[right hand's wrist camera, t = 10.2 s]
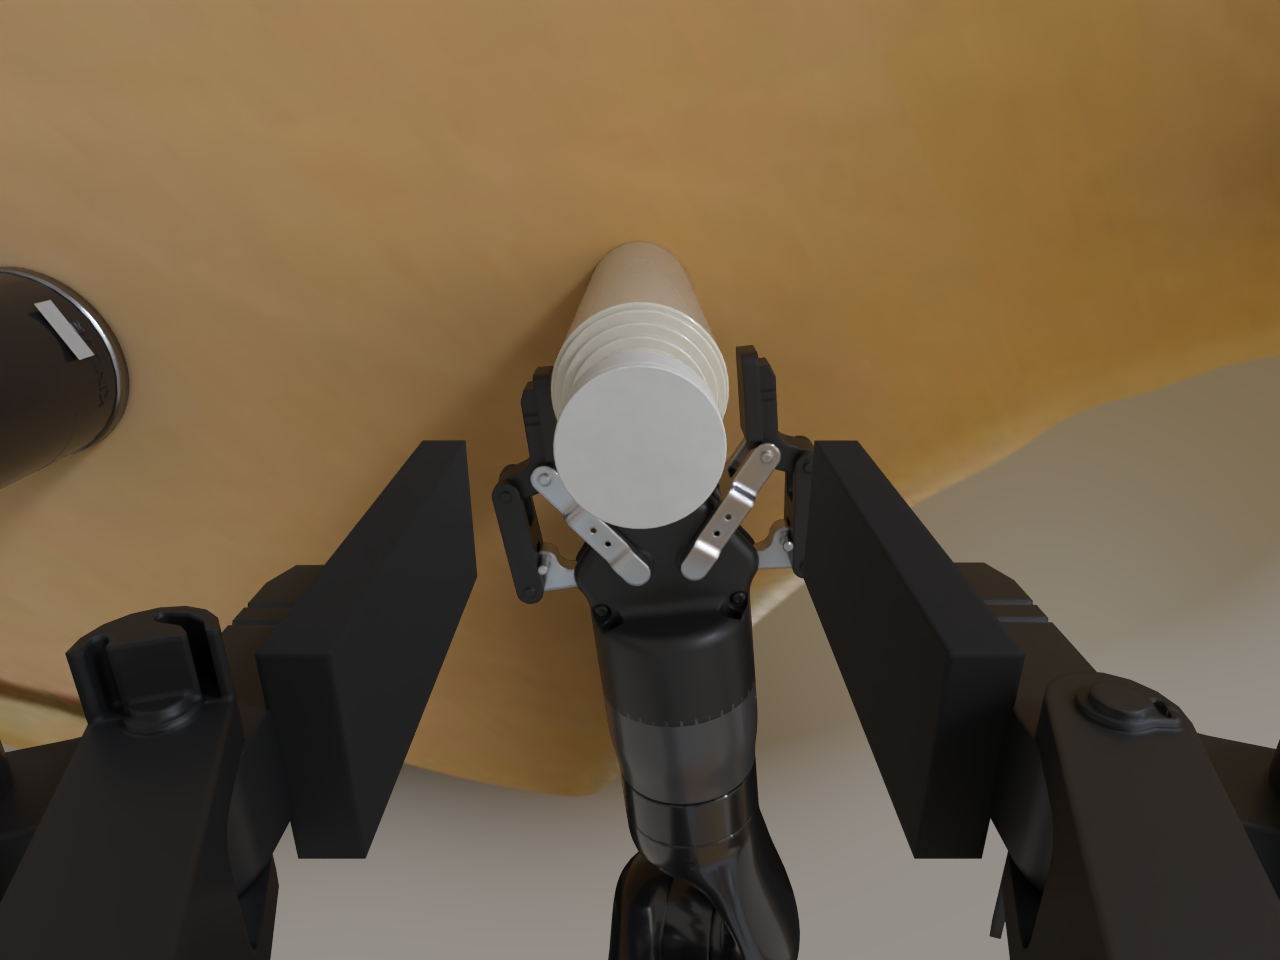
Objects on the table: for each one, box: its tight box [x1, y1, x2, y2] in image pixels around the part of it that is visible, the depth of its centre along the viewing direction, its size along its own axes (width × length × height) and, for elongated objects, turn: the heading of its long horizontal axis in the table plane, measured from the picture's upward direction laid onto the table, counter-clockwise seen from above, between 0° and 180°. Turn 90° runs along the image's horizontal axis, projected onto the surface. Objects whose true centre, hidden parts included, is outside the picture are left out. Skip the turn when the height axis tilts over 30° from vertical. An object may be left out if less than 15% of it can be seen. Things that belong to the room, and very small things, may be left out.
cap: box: [553, 351, 727, 529], centre depth 18 cm, size 4×4×2 cm
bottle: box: [551, 242, 729, 421], centre depth 28 cm, size 5×5×22 cm
